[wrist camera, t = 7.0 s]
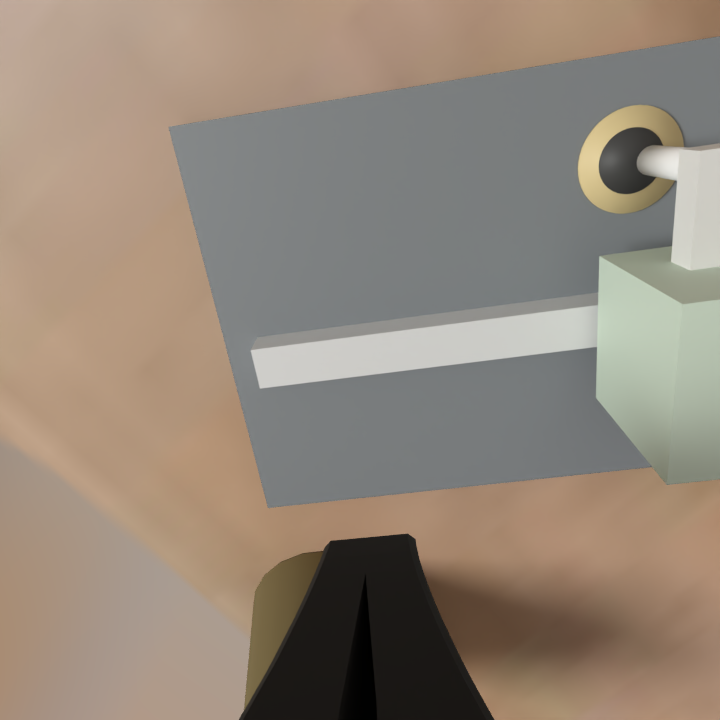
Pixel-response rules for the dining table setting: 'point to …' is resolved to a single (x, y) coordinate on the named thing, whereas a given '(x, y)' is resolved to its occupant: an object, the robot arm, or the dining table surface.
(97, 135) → the dining table surface
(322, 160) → the plate
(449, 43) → the dining table surface
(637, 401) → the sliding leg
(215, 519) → the dining table surface
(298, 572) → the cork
